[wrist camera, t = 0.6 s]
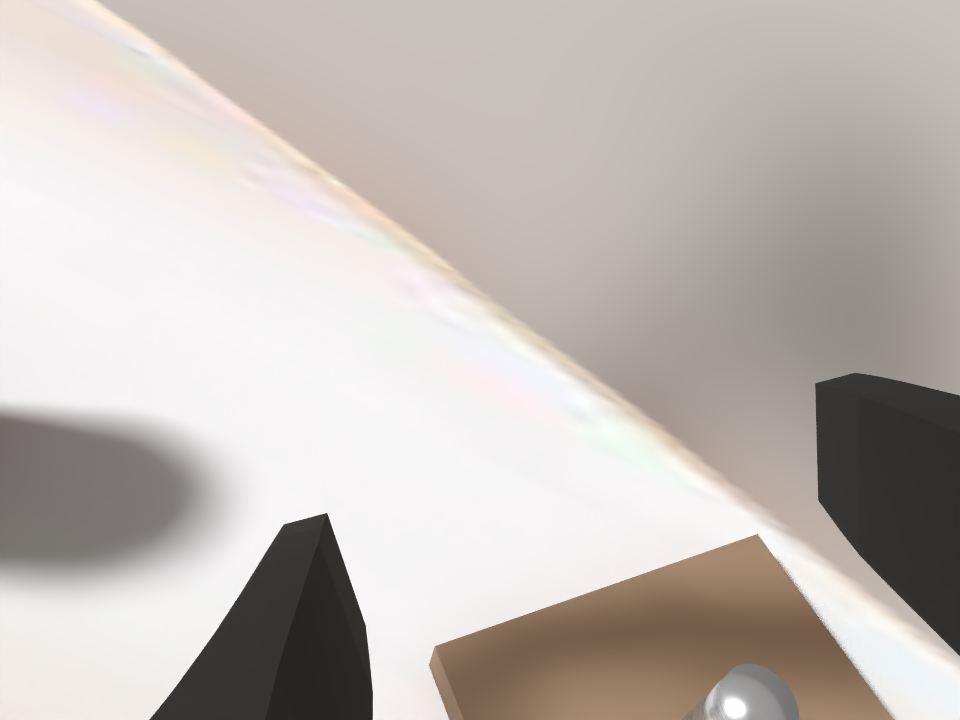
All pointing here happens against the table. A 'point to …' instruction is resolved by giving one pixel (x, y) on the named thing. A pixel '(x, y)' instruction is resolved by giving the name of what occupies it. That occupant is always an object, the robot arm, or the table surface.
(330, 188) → the table surface
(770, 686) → the stub
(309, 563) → the robot arm
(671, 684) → the board
